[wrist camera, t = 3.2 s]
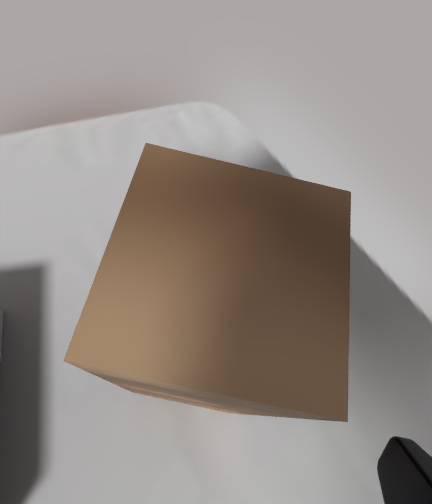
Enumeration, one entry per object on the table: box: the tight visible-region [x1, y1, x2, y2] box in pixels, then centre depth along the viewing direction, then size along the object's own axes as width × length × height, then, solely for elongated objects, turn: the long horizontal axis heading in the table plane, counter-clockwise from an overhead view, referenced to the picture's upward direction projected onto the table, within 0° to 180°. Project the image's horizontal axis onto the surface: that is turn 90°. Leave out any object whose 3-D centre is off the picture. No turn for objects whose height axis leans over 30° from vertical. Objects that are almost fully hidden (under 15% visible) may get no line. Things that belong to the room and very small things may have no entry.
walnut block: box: [64, 143, 351, 422], centre depth 12 cm, size 5×5×12 cm
